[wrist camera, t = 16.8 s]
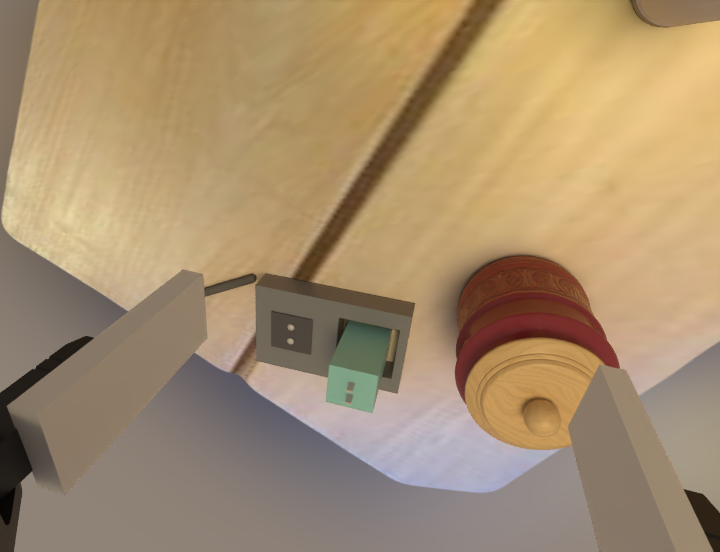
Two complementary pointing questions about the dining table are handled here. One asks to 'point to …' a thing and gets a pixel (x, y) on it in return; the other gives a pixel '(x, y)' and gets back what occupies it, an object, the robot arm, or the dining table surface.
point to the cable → (229, 285)
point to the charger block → (358, 366)
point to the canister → (527, 351)
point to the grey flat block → (321, 324)
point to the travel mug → (677, 11)
